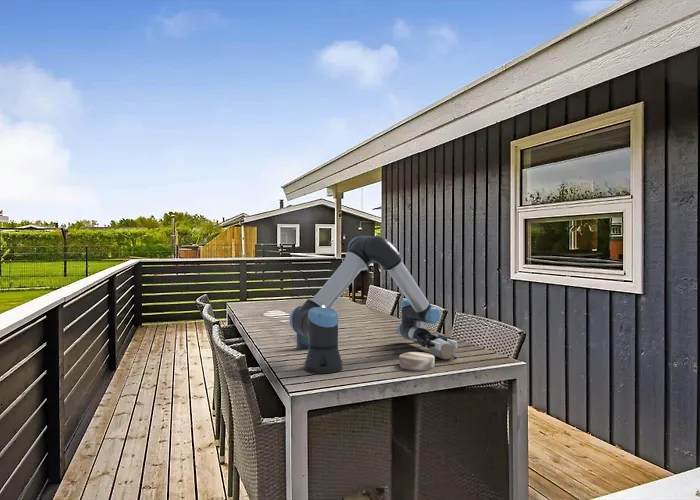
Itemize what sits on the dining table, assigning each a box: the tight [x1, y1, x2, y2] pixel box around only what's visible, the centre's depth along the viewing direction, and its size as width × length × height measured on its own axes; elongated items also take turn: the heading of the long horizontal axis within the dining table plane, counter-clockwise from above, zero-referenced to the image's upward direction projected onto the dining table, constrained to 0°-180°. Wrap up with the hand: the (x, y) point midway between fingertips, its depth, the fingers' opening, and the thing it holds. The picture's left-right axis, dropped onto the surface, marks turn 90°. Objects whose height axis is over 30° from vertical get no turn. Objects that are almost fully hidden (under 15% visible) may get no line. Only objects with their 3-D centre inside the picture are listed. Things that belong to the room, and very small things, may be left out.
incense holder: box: [417, 321, 430, 331], centre depth 257 cm, size 10×8×10 cm
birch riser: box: [398, 351, 436, 371], centre depth 189 cm, size 14×14×4 cm
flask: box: [296, 333, 309, 350], centre depth 219 cm, size 9×3×11 cm, turn 80°
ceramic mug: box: [429, 338, 459, 361], centre depth 201 cm, size 11×8×8 cm
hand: (448, 346), depth 196 cm, fingers closed on ceramic mug, 7 cm apart
